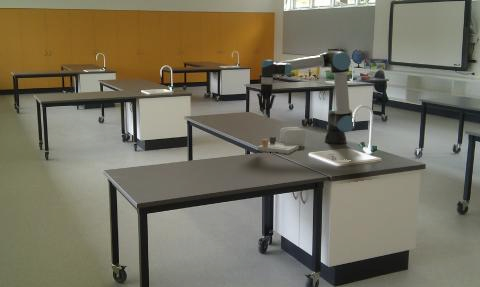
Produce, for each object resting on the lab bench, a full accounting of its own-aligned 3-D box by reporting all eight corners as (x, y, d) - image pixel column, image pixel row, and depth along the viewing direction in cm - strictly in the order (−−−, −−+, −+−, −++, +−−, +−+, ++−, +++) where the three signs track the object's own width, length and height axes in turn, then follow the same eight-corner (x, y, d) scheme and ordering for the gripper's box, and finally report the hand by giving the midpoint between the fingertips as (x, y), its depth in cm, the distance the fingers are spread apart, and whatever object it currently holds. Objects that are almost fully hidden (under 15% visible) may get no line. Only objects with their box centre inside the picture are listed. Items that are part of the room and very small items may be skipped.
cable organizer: (284, 147, 361) (284, 130, 358) (279, 143, 371) (279, 127, 368) (304, 146, 364) (305, 129, 362) (299, 142, 374) (300, 126, 372)
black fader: (275, 142, 360) (275, 136, 359) (273, 143, 358) (273, 137, 357) (271, 142, 362) (271, 136, 361) (269, 142, 359) (269, 137, 358)
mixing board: (298, 149, 355) (298, 145, 354) (288, 154, 340) (288, 150, 339) (268, 145, 365) (268, 141, 364) (257, 150, 350) (257, 146, 350)
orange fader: (268, 145, 351) (268, 139, 350) (266, 146, 348) (266, 140, 347) (264, 144, 352) (264, 139, 351) (262, 145, 350) (262, 139, 349)
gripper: (255, 83, 346) (253, 119, 351) (273, 84, 340) (271, 121, 345) (260, 82, 352) (258, 117, 357) (278, 84, 346) (276, 119, 351)
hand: (265, 119), depth 351 cm, fingers closed
